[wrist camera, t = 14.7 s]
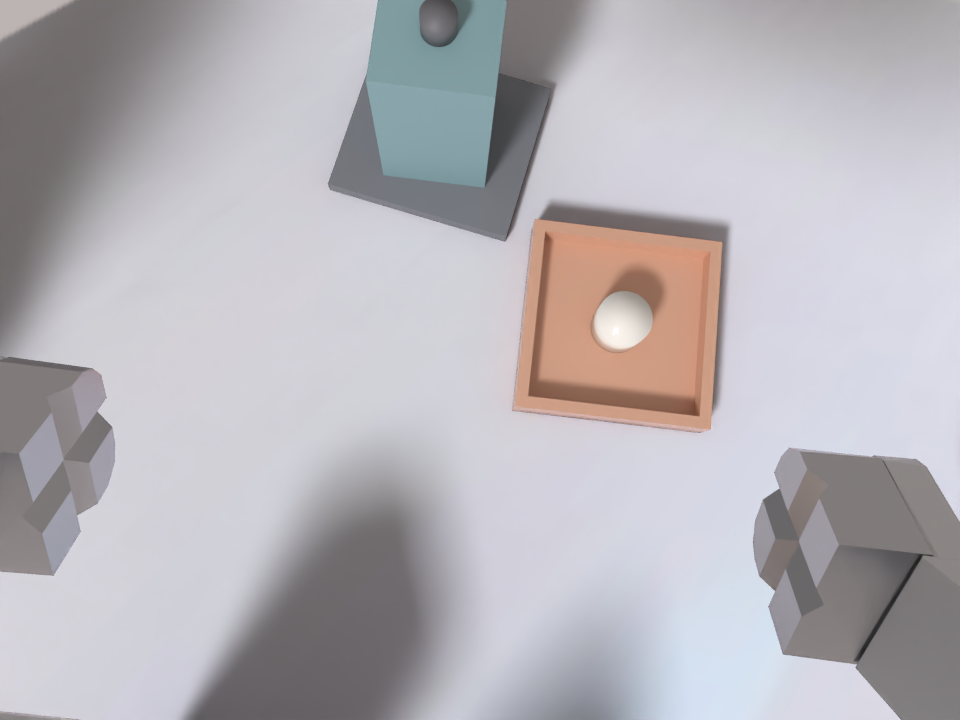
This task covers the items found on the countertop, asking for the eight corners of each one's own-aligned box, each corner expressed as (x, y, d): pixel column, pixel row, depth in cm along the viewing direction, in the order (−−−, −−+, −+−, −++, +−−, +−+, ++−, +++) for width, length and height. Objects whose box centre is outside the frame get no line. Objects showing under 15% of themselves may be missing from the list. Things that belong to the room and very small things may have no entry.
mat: (330, 189, 45) (327, 183, 44) (380, 46, 47) (379, 38, 46) (505, 241, 45) (506, 236, 44) (549, 96, 47) (551, 88, 46)
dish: (512, 410, 43) (516, 404, 41) (531, 230, 45) (537, 212, 42) (699, 432, 44) (716, 427, 41) (711, 252, 45) (728, 235, 43)
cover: (383, 175, 44) (363, 65, 33) (396, 82, 45) (381, -55, 34) (484, 187, 45) (497, 82, 34) (495, 94, 46) (511, -38, 35)
